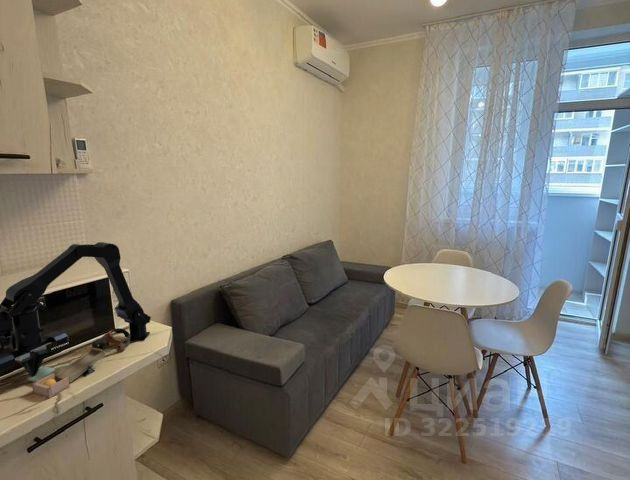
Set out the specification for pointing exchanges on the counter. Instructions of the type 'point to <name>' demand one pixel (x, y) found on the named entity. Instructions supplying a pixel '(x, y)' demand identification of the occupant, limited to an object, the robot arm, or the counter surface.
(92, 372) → the fulcrum
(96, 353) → the lever
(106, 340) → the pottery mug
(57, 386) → the dish
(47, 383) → the ball
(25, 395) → the counter surface
